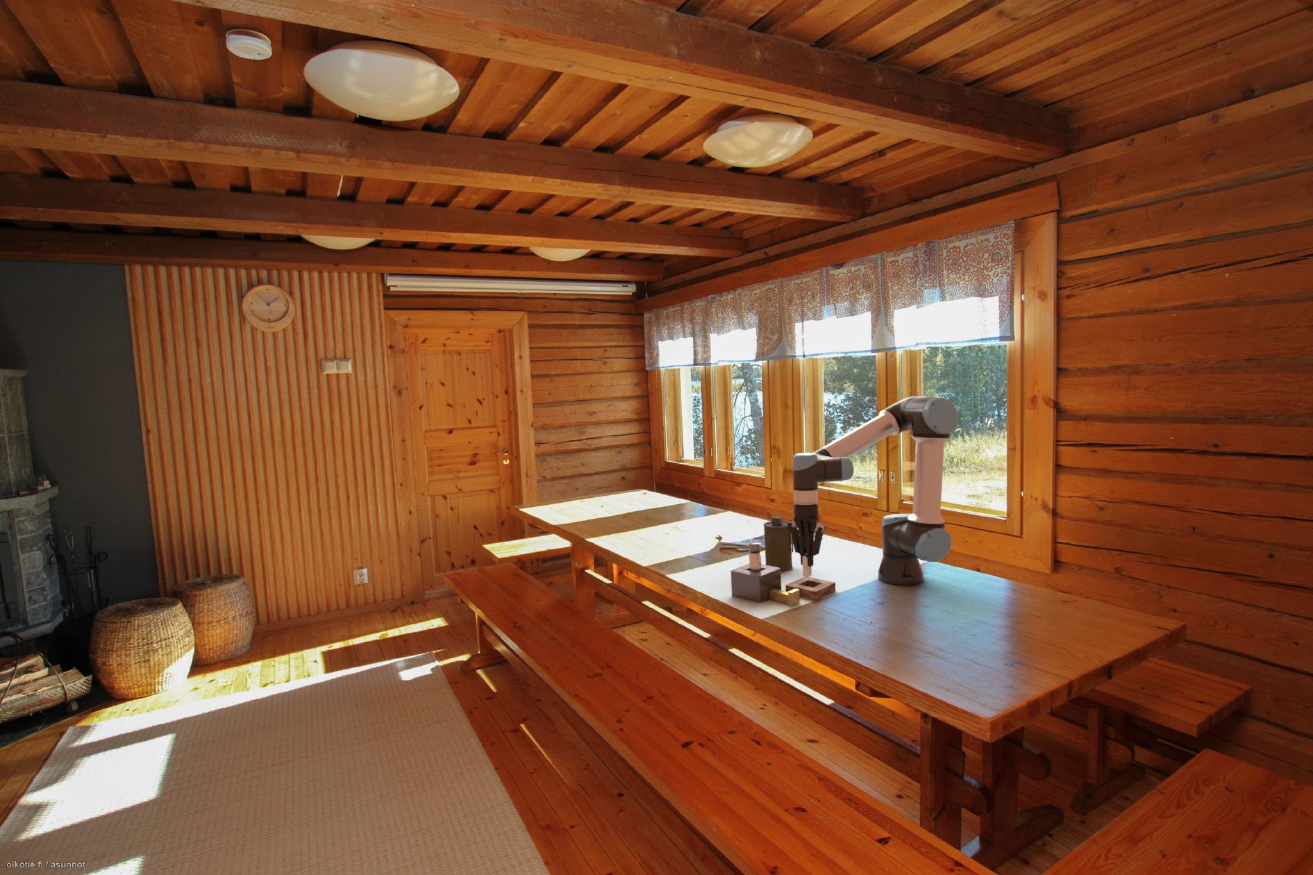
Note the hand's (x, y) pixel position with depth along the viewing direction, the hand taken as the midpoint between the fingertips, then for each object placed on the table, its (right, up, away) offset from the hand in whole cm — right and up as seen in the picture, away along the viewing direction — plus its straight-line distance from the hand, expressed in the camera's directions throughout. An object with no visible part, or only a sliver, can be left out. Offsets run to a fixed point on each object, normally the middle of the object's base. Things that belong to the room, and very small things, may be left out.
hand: (807, 575), depth 216 cm
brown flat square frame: (+5, -9, +16) cm, 19 cm away
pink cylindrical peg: (-14, -6, +16) cm, 22 cm away
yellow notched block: (-7, -10, +9) cm, 15 cm away
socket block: (-14, -10, +16) cm, 23 cm away
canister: (-1, -7, +45) cm, 46 cm away
